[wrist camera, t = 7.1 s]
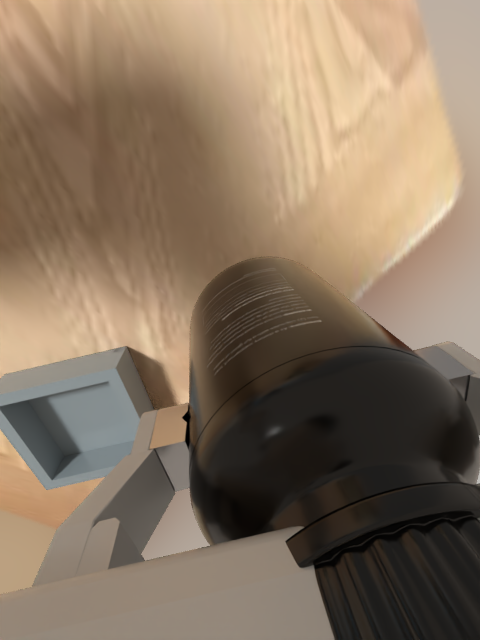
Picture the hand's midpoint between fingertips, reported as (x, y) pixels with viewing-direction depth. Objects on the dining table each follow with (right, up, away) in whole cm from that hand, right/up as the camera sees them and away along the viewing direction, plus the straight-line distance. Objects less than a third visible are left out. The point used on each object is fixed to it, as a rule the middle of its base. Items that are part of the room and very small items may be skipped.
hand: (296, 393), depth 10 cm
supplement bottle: (-1, +2, +5) cm, 6 cm away
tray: (-19, -8, +24) cm, 31 cm away
